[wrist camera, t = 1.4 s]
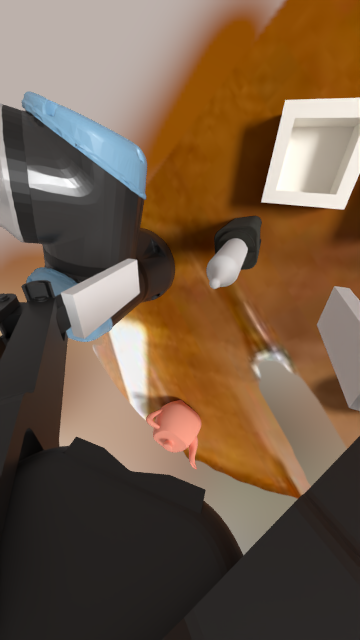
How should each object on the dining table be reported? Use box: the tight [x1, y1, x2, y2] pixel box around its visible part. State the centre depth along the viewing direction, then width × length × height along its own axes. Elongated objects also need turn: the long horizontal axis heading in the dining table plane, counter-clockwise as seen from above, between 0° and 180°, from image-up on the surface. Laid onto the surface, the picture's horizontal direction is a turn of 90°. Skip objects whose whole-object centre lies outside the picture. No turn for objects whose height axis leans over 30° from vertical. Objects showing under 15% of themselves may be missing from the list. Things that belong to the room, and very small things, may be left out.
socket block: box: [261, 98, 360, 209], centre depth 27 cm, size 10×10×5 cm
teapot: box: [146, 400, 201, 469], centre depth 63 cm, size 13×20×12 cm, turn 51°
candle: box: [207, 216, 262, 289], centre depth 26 cm, size 5×5×25 cm
